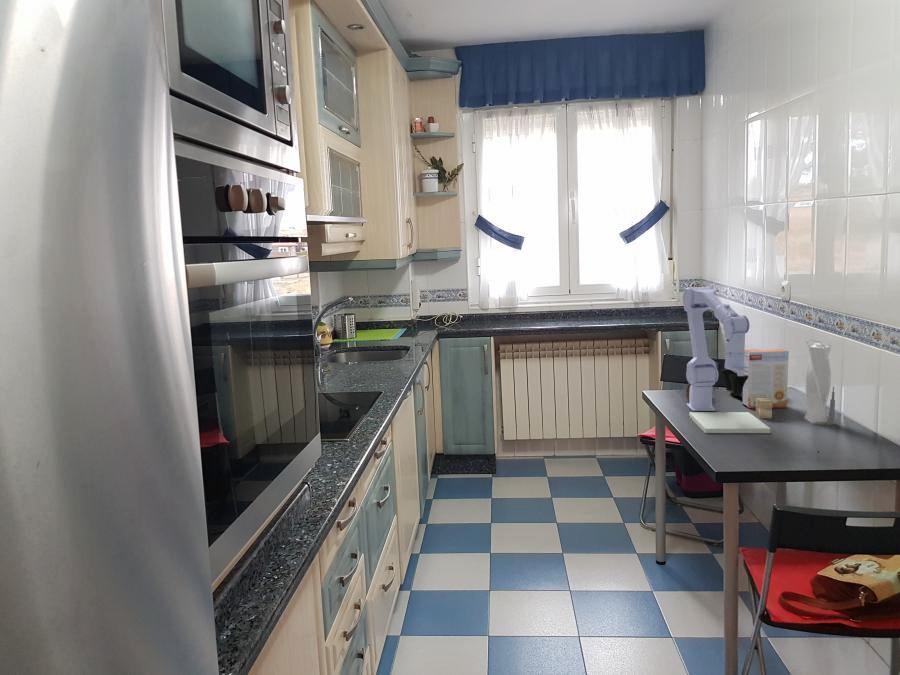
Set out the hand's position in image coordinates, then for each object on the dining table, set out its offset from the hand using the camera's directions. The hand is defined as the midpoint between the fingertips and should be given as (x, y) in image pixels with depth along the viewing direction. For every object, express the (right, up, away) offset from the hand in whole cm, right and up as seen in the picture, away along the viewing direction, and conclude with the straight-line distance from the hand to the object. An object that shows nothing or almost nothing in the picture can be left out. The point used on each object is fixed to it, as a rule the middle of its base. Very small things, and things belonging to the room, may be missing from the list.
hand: (733, 393), depth 230 cm
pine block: (+14, -9, +9) cm, 19 cm away
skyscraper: (+28, -10, +2) cm, 30 cm away
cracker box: (+20, -7, +22) cm, 31 cm away
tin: (0, -6, +35) cm, 35 cm away
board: (-2, -10, 0) cm, 11 cm away
